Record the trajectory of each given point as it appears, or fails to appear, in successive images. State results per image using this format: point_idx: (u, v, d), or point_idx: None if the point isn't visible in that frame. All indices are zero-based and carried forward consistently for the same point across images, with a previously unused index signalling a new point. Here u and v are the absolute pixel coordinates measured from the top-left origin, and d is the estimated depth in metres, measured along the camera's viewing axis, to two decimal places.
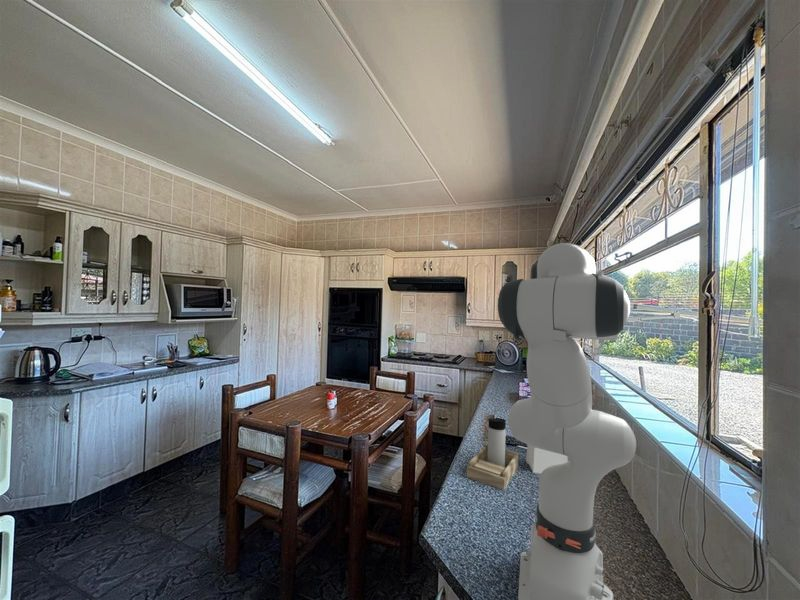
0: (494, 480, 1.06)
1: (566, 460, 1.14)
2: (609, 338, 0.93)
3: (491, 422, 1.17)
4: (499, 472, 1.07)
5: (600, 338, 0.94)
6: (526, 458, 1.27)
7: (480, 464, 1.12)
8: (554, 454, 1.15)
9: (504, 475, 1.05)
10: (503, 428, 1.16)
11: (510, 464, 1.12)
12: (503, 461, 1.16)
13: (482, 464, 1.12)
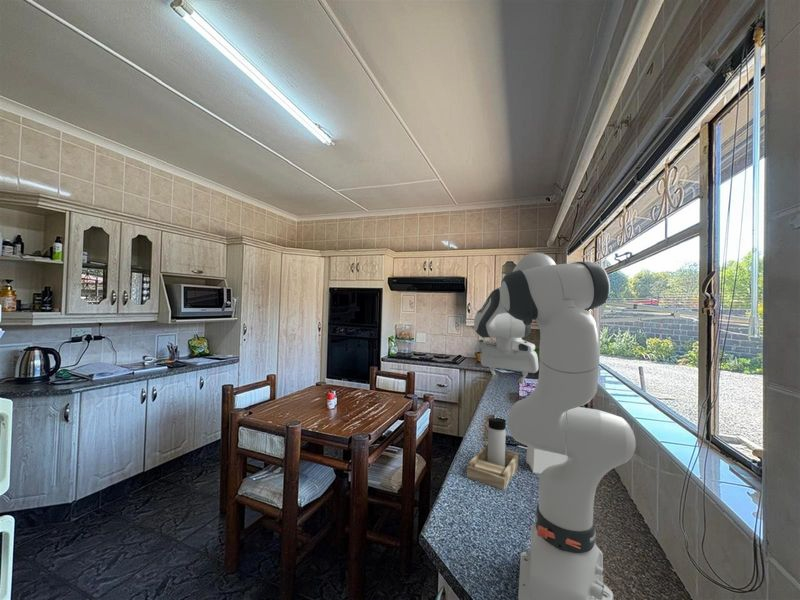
0: (494, 480, 1.06)
1: None
2: (529, 371, 1.10)
3: (491, 422, 1.17)
4: (500, 471, 1.08)
5: (523, 370, 1.11)
6: (526, 458, 1.27)
7: (480, 464, 1.12)
8: (554, 454, 1.15)
9: (504, 475, 1.05)
10: (503, 428, 1.16)
11: (510, 464, 1.12)
12: (503, 461, 1.16)
13: (481, 464, 1.12)
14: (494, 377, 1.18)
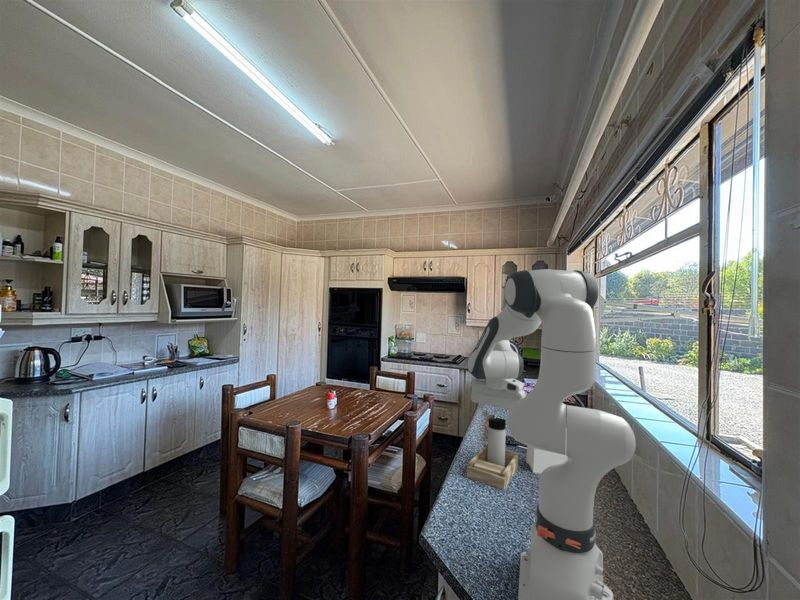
0: (494, 480, 1.06)
1: (566, 460, 1.14)
2: None
3: (491, 422, 1.17)
4: (499, 471, 1.08)
5: None
6: (526, 458, 1.27)
7: (480, 463, 1.13)
8: (554, 454, 1.15)
9: (504, 475, 1.05)
10: (503, 428, 1.16)
11: (510, 464, 1.12)
12: (503, 461, 1.16)
13: (481, 463, 1.13)
14: (484, 413, 1.20)
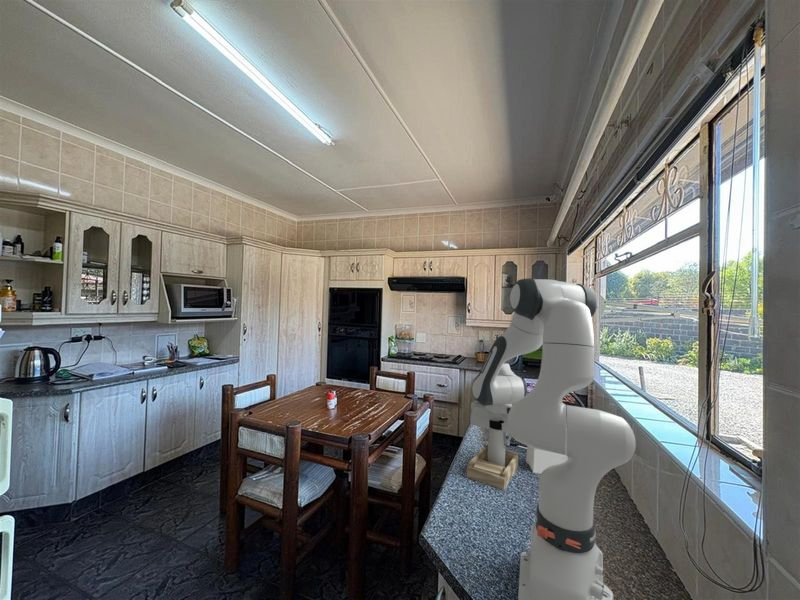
0: (494, 480, 1.06)
1: (566, 460, 1.14)
2: None
3: (491, 422, 1.17)
4: (499, 472, 1.08)
5: (511, 433, 1.14)
6: (526, 458, 1.27)
7: (479, 464, 1.12)
8: (554, 454, 1.15)
9: (504, 475, 1.05)
10: None
11: (510, 464, 1.12)
12: (503, 461, 1.16)
13: (481, 464, 1.12)
14: (485, 437, 1.20)
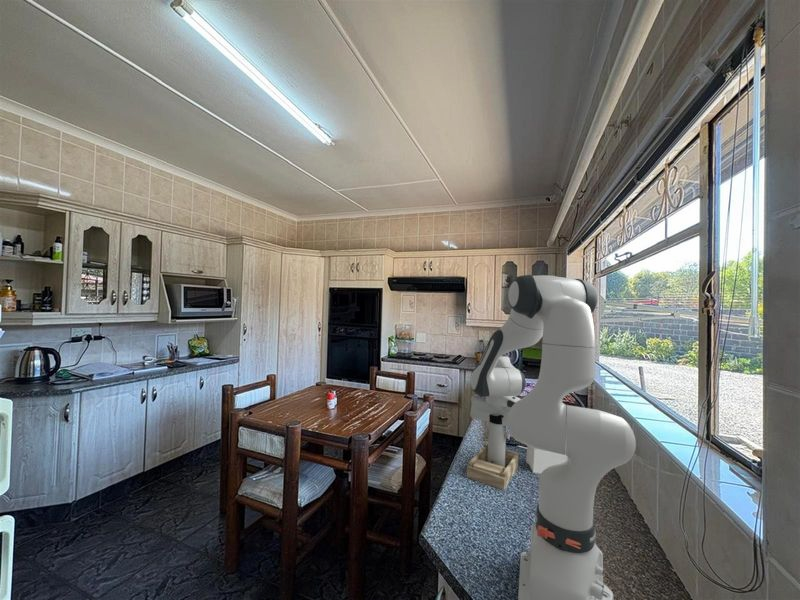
0: (494, 480, 1.06)
1: (566, 460, 1.14)
2: None
3: (491, 416, 1.16)
4: (498, 471, 1.08)
5: None
6: (526, 458, 1.27)
7: (479, 464, 1.12)
8: (554, 454, 1.15)
9: (504, 475, 1.05)
10: None
11: (510, 464, 1.12)
12: (503, 456, 1.15)
13: (481, 463, 1.13)
14: (485, 431, 1.19)
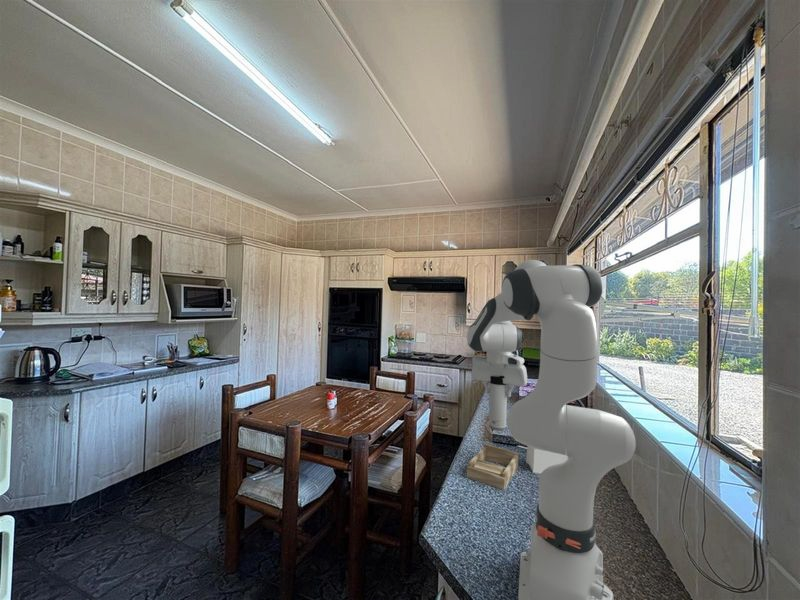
0: (494, 480, 1.06)
1: None
2: (518, 384, 1.13)
3: (492, 378, 1.17)
4: (499, 472, 1.08)
5: (512, 383, 1.14)
6: (526, 458, 1.27)
7: (479, 465, 1.12)
8: (554, 454, 1.15)
9: (504, 475, 1.05)
10: None
11: (510, 464, 1.12)
12: (505, 416, 1.16)
13: (481, 465, 1.12)
14: (487, 390, 1.20)
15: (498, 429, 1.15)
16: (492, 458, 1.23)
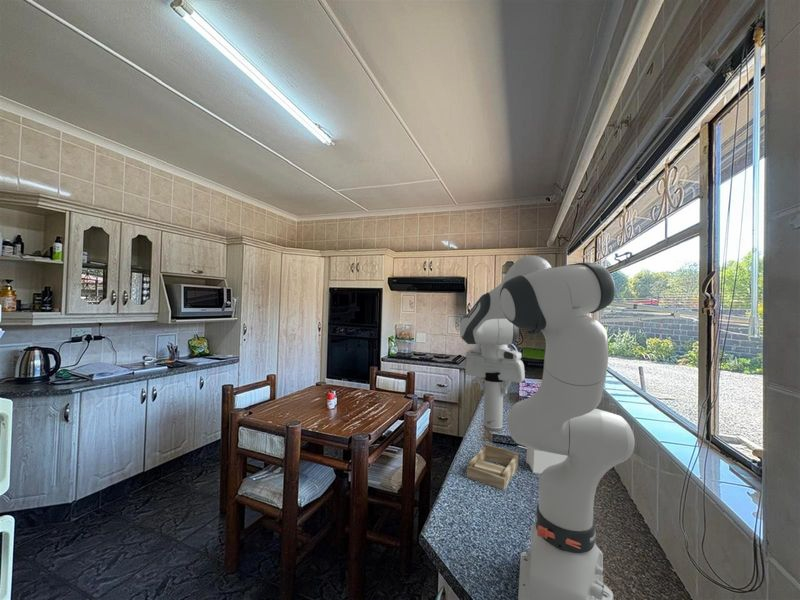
0: (494, 480, 1.06)
1: None
2: (515, 380, 1.05)
3: (487, 374, 1.09)
4: (499, 471, 1.08)
5: (508, 380, 1.06)
6: (526, 458, 1.27)
7: (479, 464, 1.12)
8: (554, 454, 1.15)
9: (504, 475, 1.05)
10: (500, 380, 1.08)
11: (510, 464, 1.12)
12: (500, 416, 1.08)
13: (481, 464, 1.12)
14: (481, 387, 1.12)
15: (493, 430, 1.07)
16: (492, 458, 1.23)
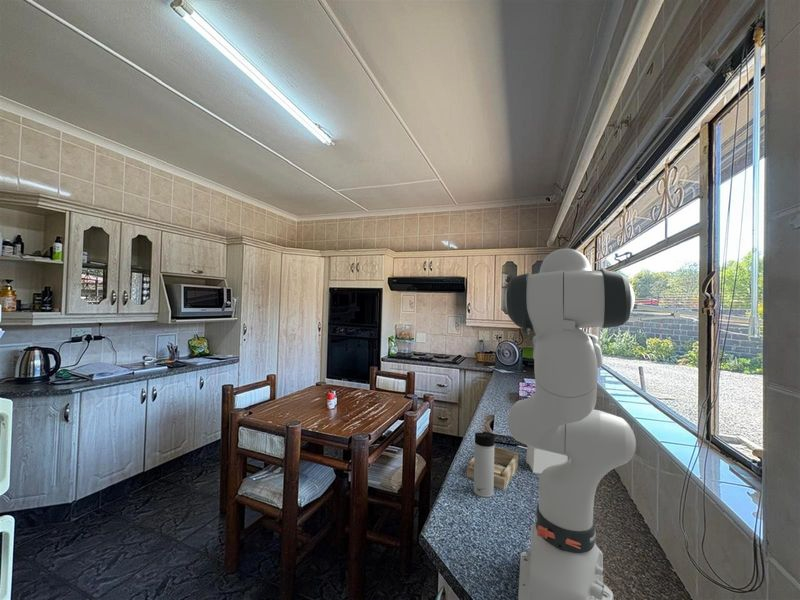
0: (494, 480, 1.06)
1: (566, 460, 1.14)
2: None
3: (478, 437, 1.01)
4: (499, 471, 1.08)
5: None
6: (526, 458, 1.27)
7: None
8: (554, 454, 1.15)
9: (504, 475, 1.05)
10: (492, 444, 1.00)
11: (510, 464, 1.12)
12: (492, 483, 1.00)
13: None
14: None
15: None
16: None
